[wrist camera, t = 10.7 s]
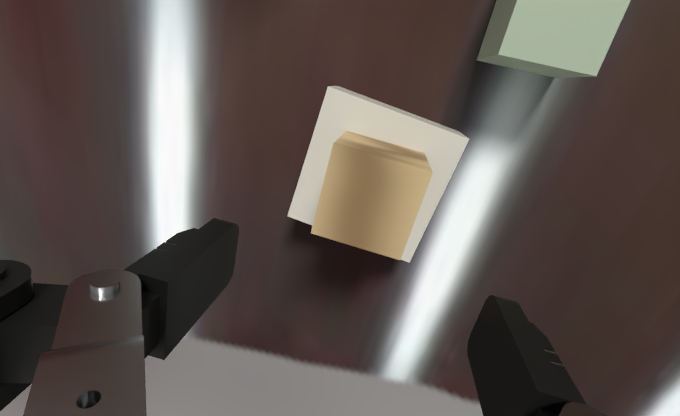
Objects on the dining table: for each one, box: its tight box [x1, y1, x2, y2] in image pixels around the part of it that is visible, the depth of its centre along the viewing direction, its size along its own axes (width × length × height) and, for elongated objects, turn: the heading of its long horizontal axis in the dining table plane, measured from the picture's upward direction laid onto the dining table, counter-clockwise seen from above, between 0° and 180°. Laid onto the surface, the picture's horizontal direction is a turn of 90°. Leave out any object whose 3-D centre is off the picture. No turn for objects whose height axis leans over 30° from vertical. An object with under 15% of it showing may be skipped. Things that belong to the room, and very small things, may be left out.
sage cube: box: [477, 0, 630, 78], centre depth 19 cm, size 5×5×5 cm
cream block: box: [288, 86, 469, 262], centre depth 24 cm, size 9×9×4 cm
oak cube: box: [311, 131, 433, 260], centre depth 20 cm, size 5×5×5 cm
